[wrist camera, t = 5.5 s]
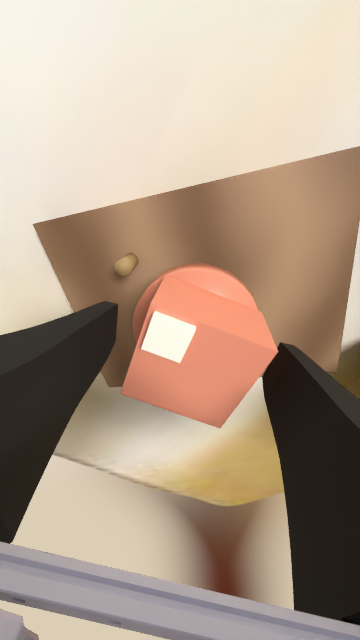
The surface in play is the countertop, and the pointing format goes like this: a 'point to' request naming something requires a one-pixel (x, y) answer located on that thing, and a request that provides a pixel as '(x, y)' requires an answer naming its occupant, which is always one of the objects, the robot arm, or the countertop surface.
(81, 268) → the board
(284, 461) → the robot arm
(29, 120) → the countertop surface
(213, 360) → the lid
